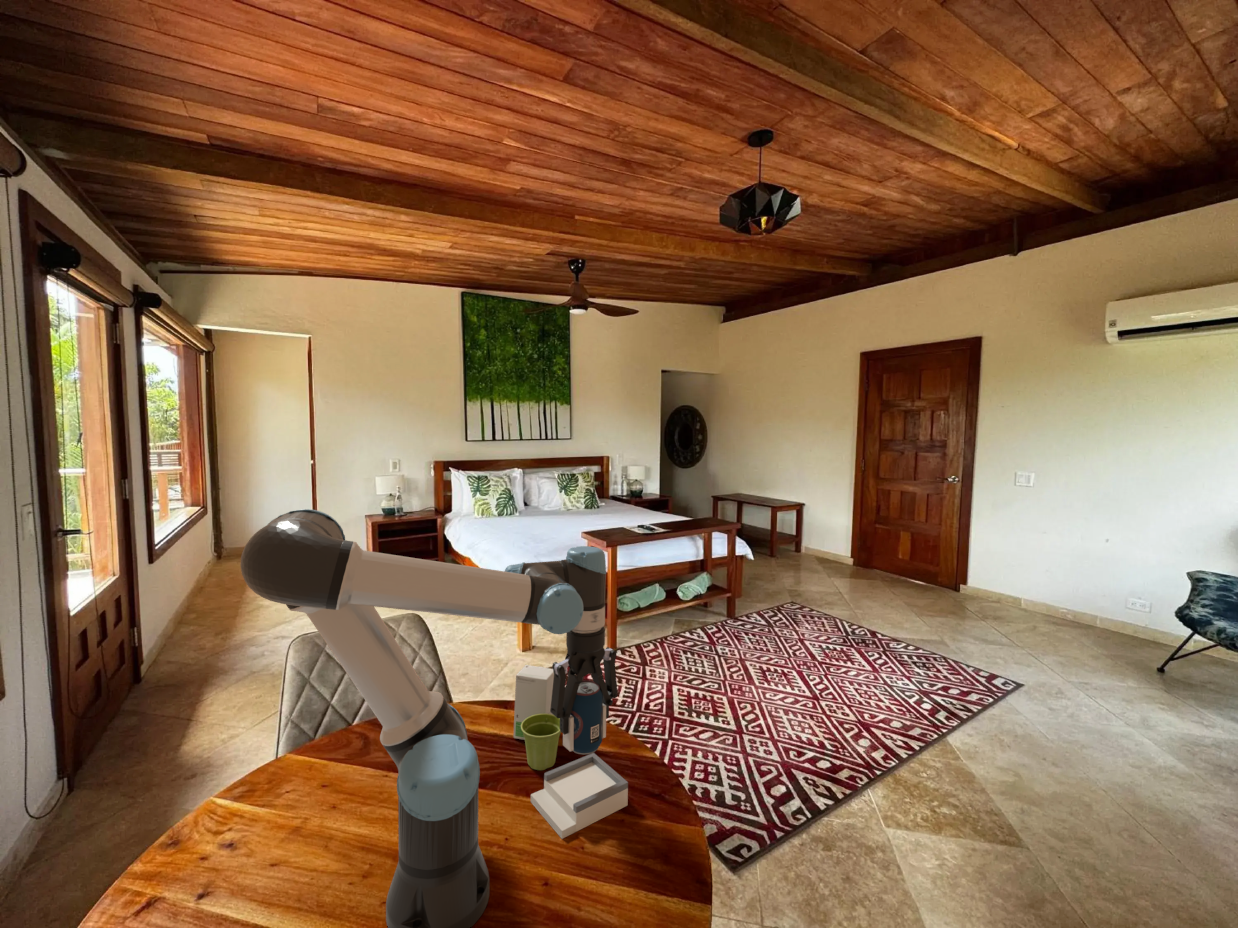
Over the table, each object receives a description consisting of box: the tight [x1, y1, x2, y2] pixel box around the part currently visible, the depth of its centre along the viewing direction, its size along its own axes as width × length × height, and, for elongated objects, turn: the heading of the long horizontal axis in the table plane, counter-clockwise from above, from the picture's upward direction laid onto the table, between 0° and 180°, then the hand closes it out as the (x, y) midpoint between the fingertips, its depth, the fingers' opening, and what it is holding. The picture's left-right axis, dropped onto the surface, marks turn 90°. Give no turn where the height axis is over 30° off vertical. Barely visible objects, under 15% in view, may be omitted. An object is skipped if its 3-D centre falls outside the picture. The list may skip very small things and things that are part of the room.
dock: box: [530, 752, 629, 840], centre depth 104 cm, size 15×12×5 cm
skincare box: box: [513, 664, 554, 741], centre depth 128 cm, size 8×7×16 cm
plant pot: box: [521, 713, 562, 771], centre depth 117 cm, size 9×9×9 cm
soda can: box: [570, 679, 603, 755], centre depth 104 cm, size 7×7×12 cm
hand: (584, 740), depth 105 cm, fingers closed on soda can, 7 cm apart
